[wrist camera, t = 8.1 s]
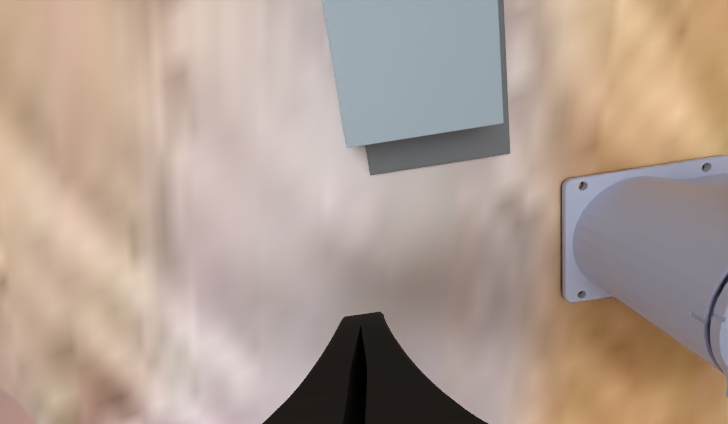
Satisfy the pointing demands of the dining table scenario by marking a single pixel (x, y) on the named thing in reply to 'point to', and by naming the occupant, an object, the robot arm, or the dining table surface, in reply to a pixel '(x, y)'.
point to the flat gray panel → (447, 137)
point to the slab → (414, 66)
